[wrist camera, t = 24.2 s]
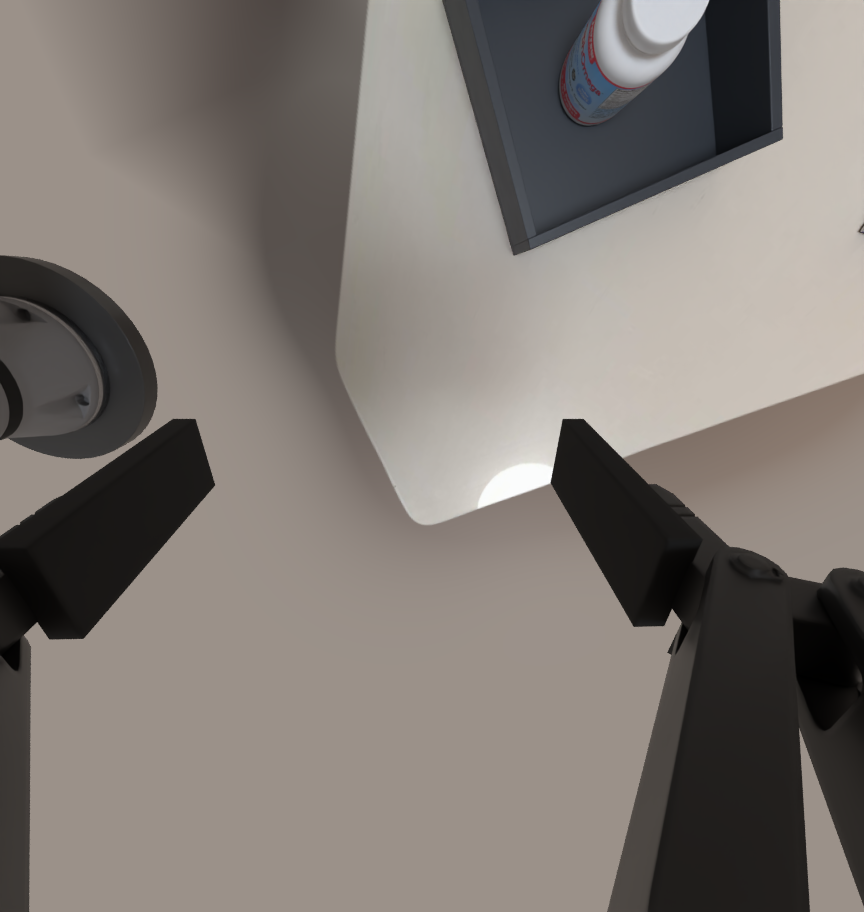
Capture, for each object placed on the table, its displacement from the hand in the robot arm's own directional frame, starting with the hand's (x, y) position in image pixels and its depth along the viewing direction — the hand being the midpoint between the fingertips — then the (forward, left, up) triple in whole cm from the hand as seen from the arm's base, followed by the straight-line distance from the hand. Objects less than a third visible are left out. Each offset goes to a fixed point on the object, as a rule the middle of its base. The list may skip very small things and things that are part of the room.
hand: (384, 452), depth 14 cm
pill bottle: (-16, +21, -29) cm, 39 cm away
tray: (-16, +21, -29) cm, 39 cm away
